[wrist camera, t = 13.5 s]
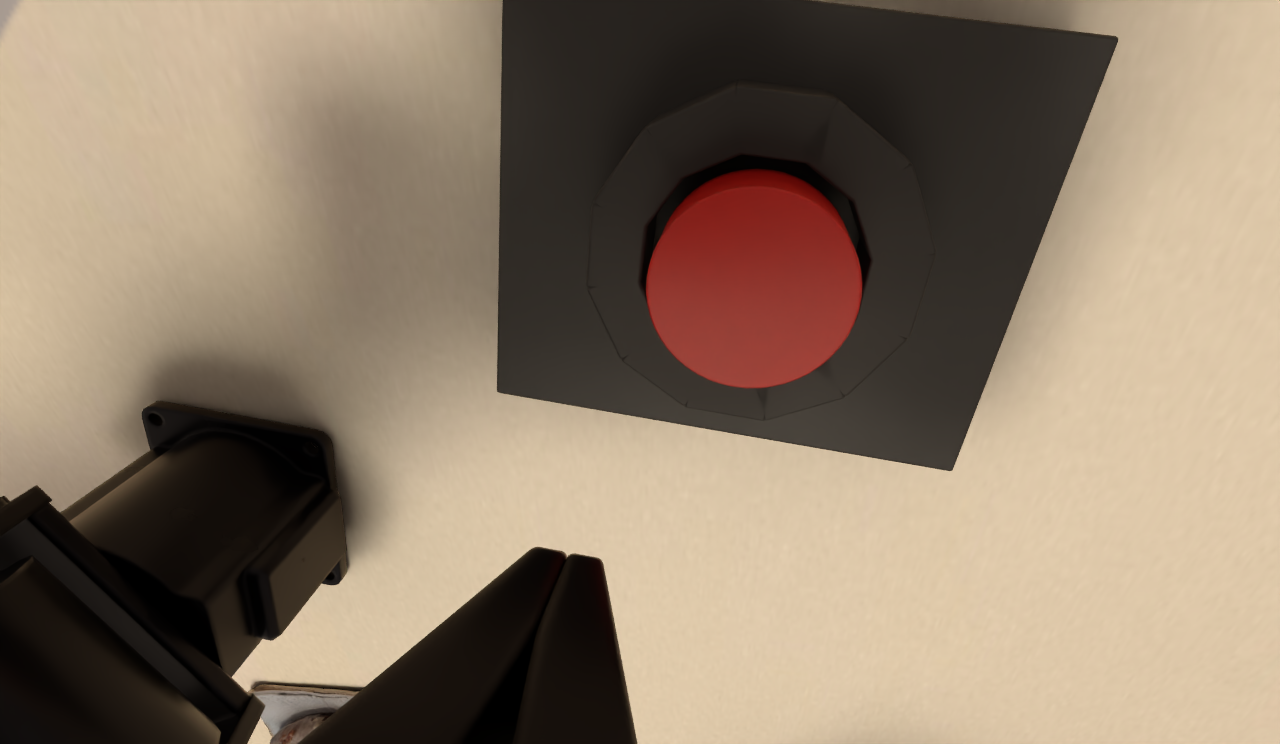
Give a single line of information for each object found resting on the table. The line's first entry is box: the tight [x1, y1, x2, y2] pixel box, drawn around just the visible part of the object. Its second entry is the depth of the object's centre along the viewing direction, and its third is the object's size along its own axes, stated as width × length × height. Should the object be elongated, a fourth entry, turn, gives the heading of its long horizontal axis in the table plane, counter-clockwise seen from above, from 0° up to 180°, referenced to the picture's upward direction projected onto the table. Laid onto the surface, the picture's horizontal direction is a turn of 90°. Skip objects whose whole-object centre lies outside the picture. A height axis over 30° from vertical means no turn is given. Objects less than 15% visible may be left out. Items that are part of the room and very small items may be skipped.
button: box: [646, 169, 862, 388], centre depth 14 cm, size 4×4×2 cm
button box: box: [497, 0, 1118, 471], centre depth 16 cm, size 12×10×4 cm
